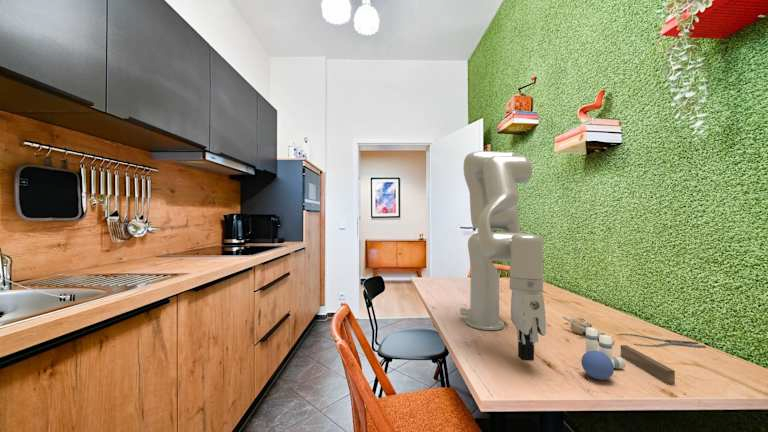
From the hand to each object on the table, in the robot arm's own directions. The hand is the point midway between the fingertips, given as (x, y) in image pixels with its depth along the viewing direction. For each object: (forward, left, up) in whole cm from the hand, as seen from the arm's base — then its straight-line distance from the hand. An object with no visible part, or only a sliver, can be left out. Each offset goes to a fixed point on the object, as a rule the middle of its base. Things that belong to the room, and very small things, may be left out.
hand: (526, 358), depth 74 cm
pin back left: (+13, +12, -2) cm, 18 cm away
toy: (+10, +34, -2) cm, 35 cm away
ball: (+14, +4, +2) cm, 15 cm away
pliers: (+28, +43, -2) cm, 51 cm away
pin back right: (+16, +8, -2) cm, 18 cm away
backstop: (+23, +16, -2) cm, 28 cm away
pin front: (+12, +8, 0) cm, 14 cm away
